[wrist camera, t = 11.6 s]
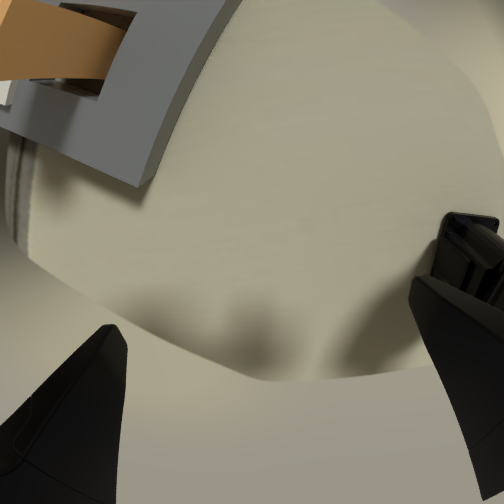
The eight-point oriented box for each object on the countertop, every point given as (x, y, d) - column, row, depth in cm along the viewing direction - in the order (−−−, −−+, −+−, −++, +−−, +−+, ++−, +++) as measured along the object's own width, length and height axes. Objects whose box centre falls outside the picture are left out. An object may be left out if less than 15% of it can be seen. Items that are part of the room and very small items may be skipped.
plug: (133, 34, 14) (-13, -8, 3) (112, 80, 16) (-46, 88, 4) (87, 24, 13) (-53, 3, 2) (69, 68, 15) (-77, 79, 3)
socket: (245, -6, 13) (240, -29, 9) (154, 175, 19) (132, 191, 16) (68, -33, 10) (42, -44, 7) (9, 114, 16) (-21, 122, 13)
